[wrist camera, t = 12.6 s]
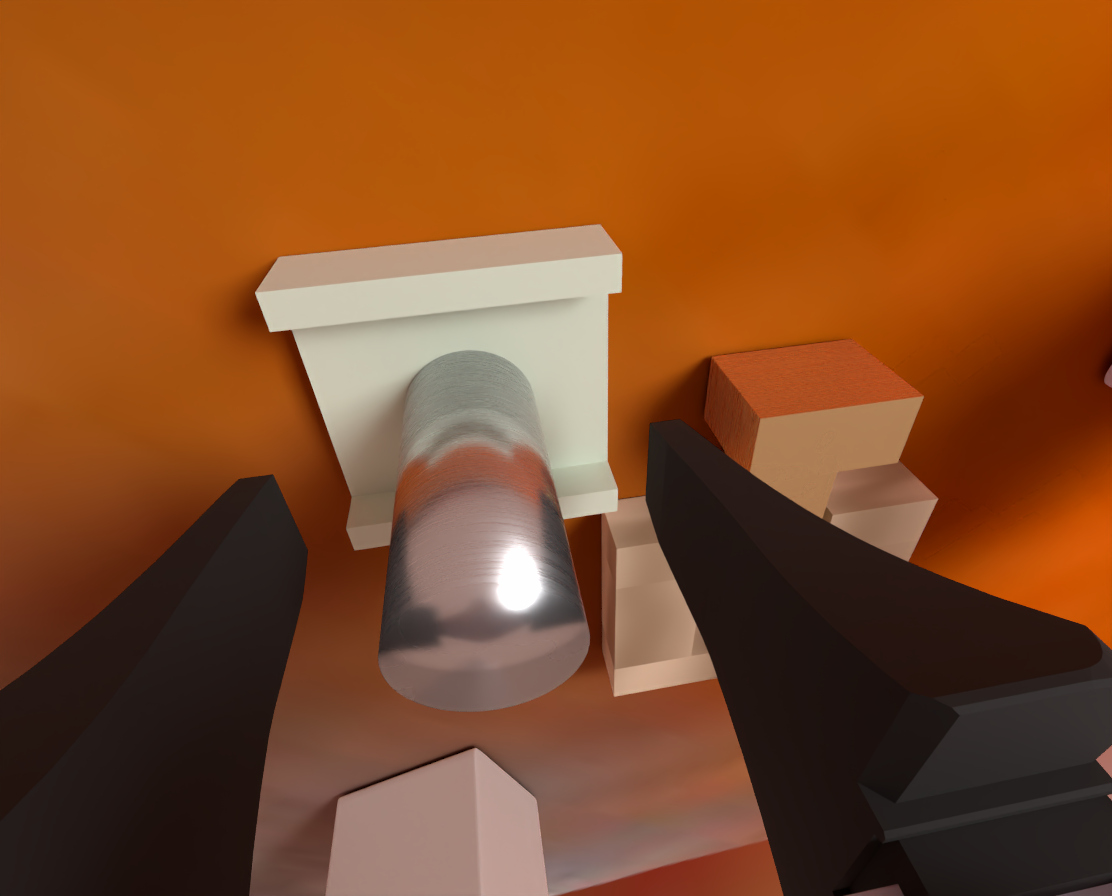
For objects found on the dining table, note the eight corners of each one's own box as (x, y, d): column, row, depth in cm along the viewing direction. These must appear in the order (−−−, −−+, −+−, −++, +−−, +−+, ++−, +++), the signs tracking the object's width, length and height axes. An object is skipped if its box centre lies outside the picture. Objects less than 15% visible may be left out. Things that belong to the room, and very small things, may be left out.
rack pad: (600, 224, 13) (622, 254, 11) (601, 465, 17) (617, 511, 16) (279, 256, 12) (254, 292, 11) (362, 499, 17) (354, 550, 15)
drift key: (851, 338, 16) (924, 396, 13) (802, 511, 20) (851, 579, 17) (711, 356, 15) (760, 418, 13) (689, 528, 19) (724, 600, 17)
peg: (518, 335, 13) (570, 560, 8) (546, 442, 15) (603, 683, 10) (384, 369, 13) (341, 618, 8) (430, 471, 15) (421, 728, 10)
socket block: (897, 458, 19) (938, 498, 17) (837, 608, 24) (865, 651, 22) (601, 502, 18) (616, 548, 17) (602, 649, 23) (614, 696, 21)
